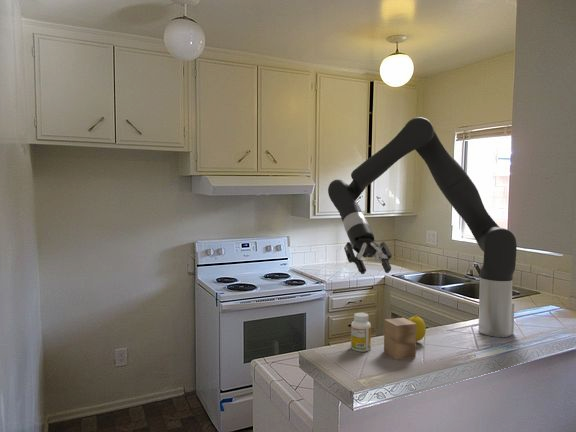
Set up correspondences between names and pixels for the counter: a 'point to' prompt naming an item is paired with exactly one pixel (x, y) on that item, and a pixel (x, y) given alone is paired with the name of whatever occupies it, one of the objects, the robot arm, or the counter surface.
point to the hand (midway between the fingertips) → (376, 272)
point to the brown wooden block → (400, 338)
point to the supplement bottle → (360, 333)
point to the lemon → (419, 327)
